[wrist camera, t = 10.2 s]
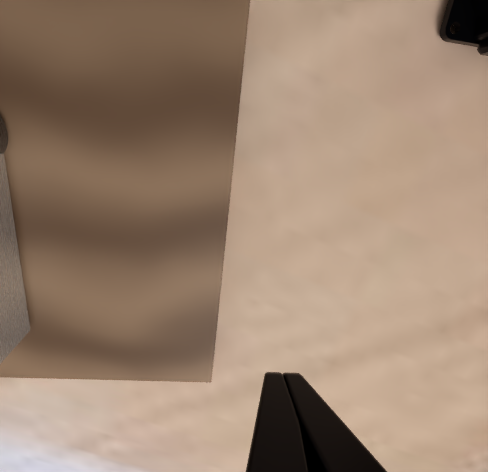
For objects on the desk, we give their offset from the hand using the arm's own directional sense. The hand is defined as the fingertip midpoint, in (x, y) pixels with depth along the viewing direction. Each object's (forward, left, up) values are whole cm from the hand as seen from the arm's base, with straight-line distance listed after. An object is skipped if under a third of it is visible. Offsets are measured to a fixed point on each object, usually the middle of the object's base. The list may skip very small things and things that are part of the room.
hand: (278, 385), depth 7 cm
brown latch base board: (0, -10, -12) cm, 16 cm away
